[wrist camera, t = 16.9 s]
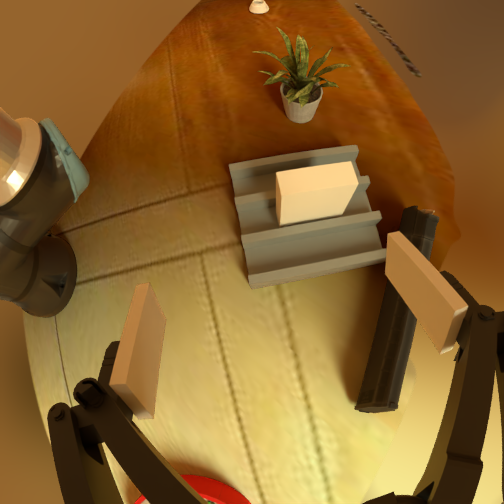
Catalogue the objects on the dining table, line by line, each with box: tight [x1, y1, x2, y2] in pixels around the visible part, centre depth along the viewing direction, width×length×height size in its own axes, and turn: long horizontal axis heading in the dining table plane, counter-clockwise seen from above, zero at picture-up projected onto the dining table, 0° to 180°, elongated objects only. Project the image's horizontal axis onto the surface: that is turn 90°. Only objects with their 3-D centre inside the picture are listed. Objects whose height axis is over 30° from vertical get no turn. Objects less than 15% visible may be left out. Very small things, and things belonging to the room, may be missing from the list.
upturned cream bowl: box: [249, 0, 269, 14], centre depth 61 cm, size 5×3×5 cm
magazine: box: [354, 206, 439, 413], centre depth 38 cm, size 17×3×30 cm
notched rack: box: [229, 145, 387, 289], centre depth 45 cm, size 18×20×4 cm
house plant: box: [255, 27, 349, 123], centre depth 45 cm, size 14×14×16 cm
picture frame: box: [276, 161, 359, 228], centre depth 40 cm, size 3×9×12 cm, turn 100°
